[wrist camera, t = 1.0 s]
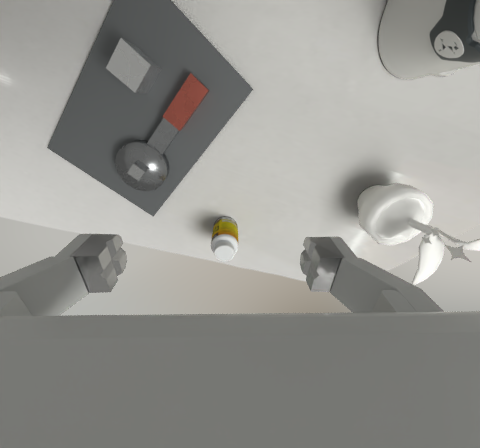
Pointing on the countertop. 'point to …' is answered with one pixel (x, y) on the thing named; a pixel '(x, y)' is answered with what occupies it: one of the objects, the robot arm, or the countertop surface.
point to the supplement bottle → (225, 239)
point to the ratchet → (159, 141)
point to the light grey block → (133, 67)
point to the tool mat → (146, 98)
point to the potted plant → (407, 224)
